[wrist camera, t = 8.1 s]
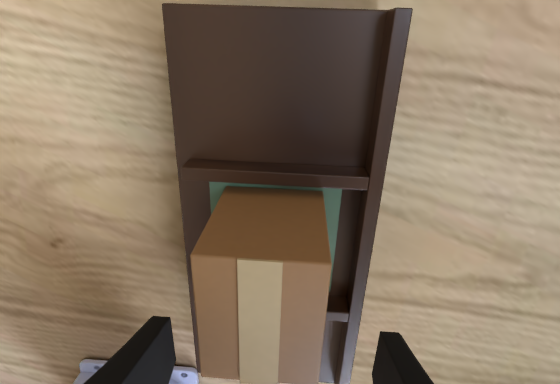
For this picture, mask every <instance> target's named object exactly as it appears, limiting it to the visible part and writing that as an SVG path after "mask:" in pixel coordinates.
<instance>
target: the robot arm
mask: <svg viewBox="0 0 560 384" xmlns="http://www.w3.org/2000/svg"><path fill="white" fill-rule="evenodd" d="M175 361H176V357H175V349H174V342H173V334H172V327H171V320H170V317H160V316H152V317H151V318H150V319H149V320H148V321H147V322H146V323H145V324H144V325H143V326H142V327H141V328H140V329H139V330H138V331H137V332H136V333H135V334H134V335H133V337H132V338H131V339H130V340H129V341H128V342H127V343H126V344H125V345H124V346H123V347H122V348H121V349H120V350H119V351H118V352H117V353H115V354H114V355H113V356H112V357H111V358H110V359H109V360H108V361H105V360H93V359H83V360H82V361H81V363H80V364H79V367H80V371H81V372H80V374H79V375H78V377H77V378H76V380H75V381H74V383H73V384H199V379H198V372H197V370H196V369H195V368H192V367H182V366H174V364H175ZM372 378H373V384H434V383H433V382H432V380H431V379H430V378H429V376H428V375H427V373H426V372H425V370H424V369H423V368H422V366H421V365H420V363H419V362H418V360H417V359H416V357H415V356H414V354H413V353H412V351H411V350H410V348H409V347H408V345H407V344H406V342H405V341H404V339H403V337H402V336H401V335H400V334H399V333H396V332H381V331H380V336H379V341H378V346H377V351H376V356H375V361H374V366H373V371H372Z"/></svg>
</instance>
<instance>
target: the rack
mask: <svg viewBox="0 0 560 384" xmlns="http://www.w3.org/2000/svg"><path fill="white" fill-rule="evenodd" d="M412 10H413V9H412V8H393V9H390V10H368V9H336V8H304V7H272V6H240V5H208V4H176V3H163V4H162V11H163V21H164V32H165V42H166V52H167V63H168V73H169V84H170V94H171V105H172V115H173V125H174V136H175V146H176V157H177V167H178V178H179V188H180V198H181V209H182V219H183V230H184V240H185V251H186V261H187V271H188V282H189V292H190V303H191V313H192V323H193V334H194V344H195V355H196V365H197V372H198V373H201V370H200V359H199V347H198V336H197V325H196V314H195V303H194V292H193V281H192V269H191V258H190V255H191V253H192V251H193V249H194V247H195V245H196V243H197V241H198V239H199V237H200V236H201V234H202V232H203V230H204V228H205V226H206V224H207V222H208V220H209V218H210V216H211V214H212V212H213V211H214V209H215V207H216V205H217V203H218V201H219V199H220V197H221V195H222V193H223V191H224V189H225V187H226V186H238V187H256V188H275V189H293V190H311V191H323V196H324V204H325V212H326V220H327V229H328V237H329V245H330V253H331V262H332V268H331V277H330V286H329V294H328V303H327V312H326V321H325V330H324V338H323V347H322V356H321V365H320V374H319V382H324V383H335V384H350V379H351V373H352V367H353V361H354V355H355V349H356V343H357V337H358V331H359V325H360V320H361V314H362V308H363V302H364V296H365V290H366V284H367V278H368V272H369V266H370V260H371V254H372V248H373V242H374V236H375V230H376V224H377V219H378V213H379V207H380V201H381V195H382V189H383V183H384V177H385V171H386V165H387V159H388V153H389V147H390V141H391V135H392V129H393V123H394V117H395V112H396V106H397V100H398V94H399V88H400V82H401V76H402V70H403V64H404V58H405V52H406V46H407V40H408V34H409V28H410V22H411V16H412Z"/></svg>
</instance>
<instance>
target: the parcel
mask: <svg viewBox="0 0 560 384" xmlns="http://www.w3.org/2000/svg"><path fill="white" fill-rule="evenodd" d="M190 258H191V269H192V281H193V292H194V303H195V314H196V325H197V336H198V347H199V359H200V370H201V376H202V377H211V378H223V379H236V380H240V383H242V384H278V383H286V384H318V382H319V374H320V365H321V356H322V347H323V338H324V330H325V321H326V312H327V303H328V294H329V286H330V277H331V268H332V262H331V253H330V245H329V237H328V229H327V220H326V212H325V204H324V196H323V191H311V190H293V189H275V188H256V187H238V186H226V187H225V189H224V191H223V193H222V195H221V197H220V199H219V201H218V203H217V205H216V207H215V209H214V211H213V212H212V214H211V216H210V218H209V220H208V222H207V224H206V226H205V228H204V230H203V232H202V234H201V236H200V237H199V239H198V241H197V243H196V245H195V247H194V249H193V251H192V253H191V255H190Z"/></svg>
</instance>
